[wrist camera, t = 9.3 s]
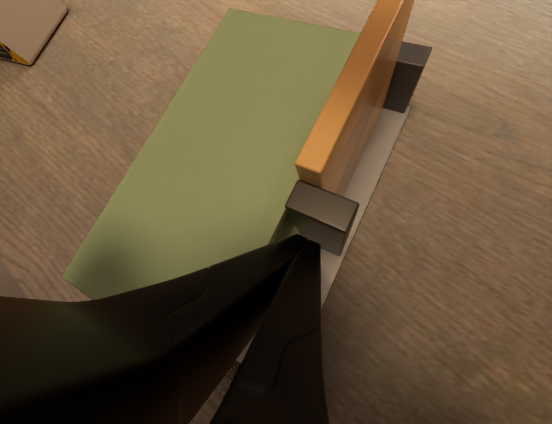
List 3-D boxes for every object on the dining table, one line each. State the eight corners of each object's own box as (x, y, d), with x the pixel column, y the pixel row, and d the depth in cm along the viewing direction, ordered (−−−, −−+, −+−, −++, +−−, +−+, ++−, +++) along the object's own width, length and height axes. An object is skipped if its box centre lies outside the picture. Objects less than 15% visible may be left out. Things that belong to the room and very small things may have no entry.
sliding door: (339, 258, 14) (348, 226, 6) (305, 242, 14) (276, 195, 7) (401, 119, 15) (471, -45, 8) (368, 110, 16) (402, -51, 8)
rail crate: (285, 389, 13) (259, 448, 8) (134, 288, 16) (52, 289, 12) (412, 103, 16) (447, 25, 11) (262, 65, 19) (239, -9, 14)
